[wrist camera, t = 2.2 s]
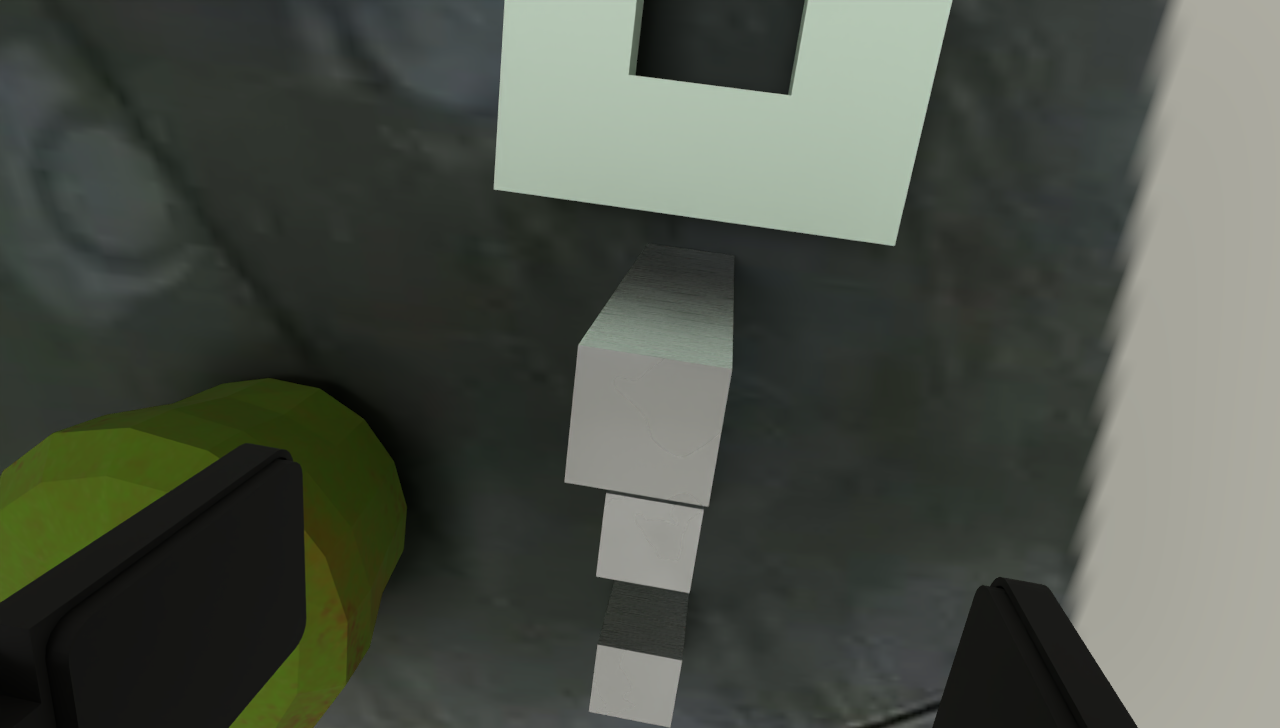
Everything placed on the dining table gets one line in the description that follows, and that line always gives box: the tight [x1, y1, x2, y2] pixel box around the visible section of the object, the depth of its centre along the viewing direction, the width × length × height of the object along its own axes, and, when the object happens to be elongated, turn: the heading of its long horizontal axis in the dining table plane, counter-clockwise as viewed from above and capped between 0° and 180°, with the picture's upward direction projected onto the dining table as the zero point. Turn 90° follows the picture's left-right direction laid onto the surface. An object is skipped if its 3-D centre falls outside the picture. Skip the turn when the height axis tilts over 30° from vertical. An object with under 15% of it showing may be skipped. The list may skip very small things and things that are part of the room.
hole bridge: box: [494, 0, 952, 246], centre depth 23 cm, size 12×12×5 cm
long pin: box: [564, 243, 734, 507], centre depth 22 cm, size 3×3×13 cm
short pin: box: [589, 580, 689, 727], centre depth 31 cm, size 3×3×4 cm
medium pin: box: [596, 490, 704, 593], centre depth 28 cm, size 3×3×6 cm
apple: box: [0, 378, 407, 728], centre depth 28 cm, size 12×12×11 cm
